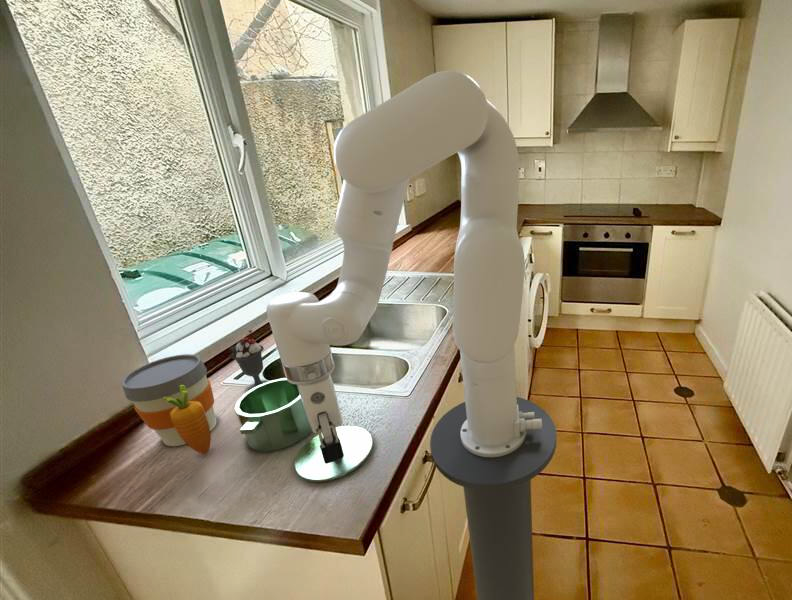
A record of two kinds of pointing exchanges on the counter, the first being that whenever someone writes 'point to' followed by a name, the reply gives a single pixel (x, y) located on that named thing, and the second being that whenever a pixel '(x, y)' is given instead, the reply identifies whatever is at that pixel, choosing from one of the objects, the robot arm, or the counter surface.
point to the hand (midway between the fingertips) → (330, 443)
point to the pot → (272, 416)
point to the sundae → (249, 359)
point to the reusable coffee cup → (168, 392)
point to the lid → (355, 453)
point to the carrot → (190, 422)
